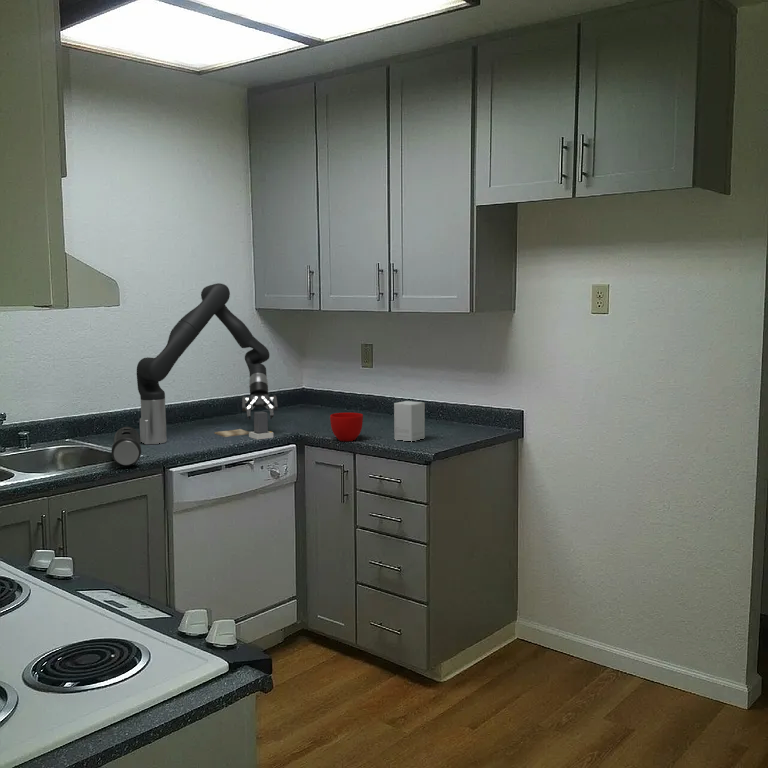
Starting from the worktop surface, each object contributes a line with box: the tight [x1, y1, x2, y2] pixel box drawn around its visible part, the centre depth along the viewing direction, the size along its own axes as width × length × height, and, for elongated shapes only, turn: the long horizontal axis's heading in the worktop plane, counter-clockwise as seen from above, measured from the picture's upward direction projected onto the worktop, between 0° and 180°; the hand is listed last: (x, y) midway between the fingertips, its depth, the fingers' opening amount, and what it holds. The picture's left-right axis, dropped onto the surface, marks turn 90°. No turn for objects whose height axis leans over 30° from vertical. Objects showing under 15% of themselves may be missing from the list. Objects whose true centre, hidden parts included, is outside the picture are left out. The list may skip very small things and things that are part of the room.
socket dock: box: [248, 430, 274, 440], centre depth 328 cm, size 7×7×3 cm
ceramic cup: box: [329, 412, 364, 442], centre depth 325 cm, size 13×17×10 cm
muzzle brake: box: [111, 426, 142, 467], centre depth 285 cm, size 10×28×10 cm, turn 17°
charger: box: [253, 411, 269, 434], centre depth 327 cm, size 4×4×10 cm
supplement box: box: [393, 400, 426, 443], centre depth 322 cm, size 9×9×15 cm
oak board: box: [213, 428, 250, 438], centre depth 336 cm, size 12×10×1 cm
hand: (260, 417), depth 329 cm, fingers open, 8 cm apart
